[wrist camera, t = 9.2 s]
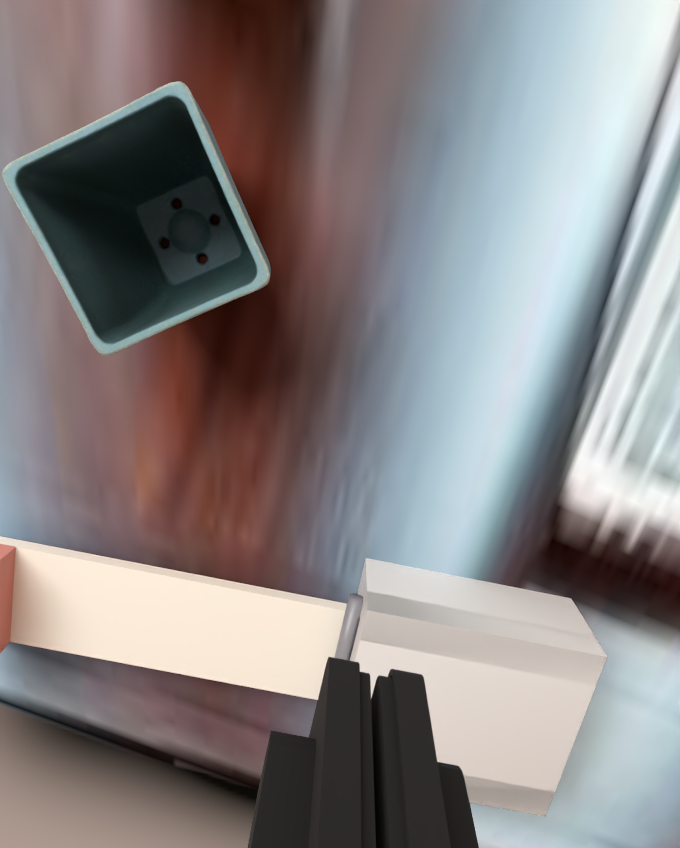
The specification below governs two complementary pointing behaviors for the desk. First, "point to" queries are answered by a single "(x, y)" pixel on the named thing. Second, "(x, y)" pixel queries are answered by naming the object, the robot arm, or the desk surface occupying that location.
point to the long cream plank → (165, 619)
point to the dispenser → (481, 673)
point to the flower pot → (140, 219)
